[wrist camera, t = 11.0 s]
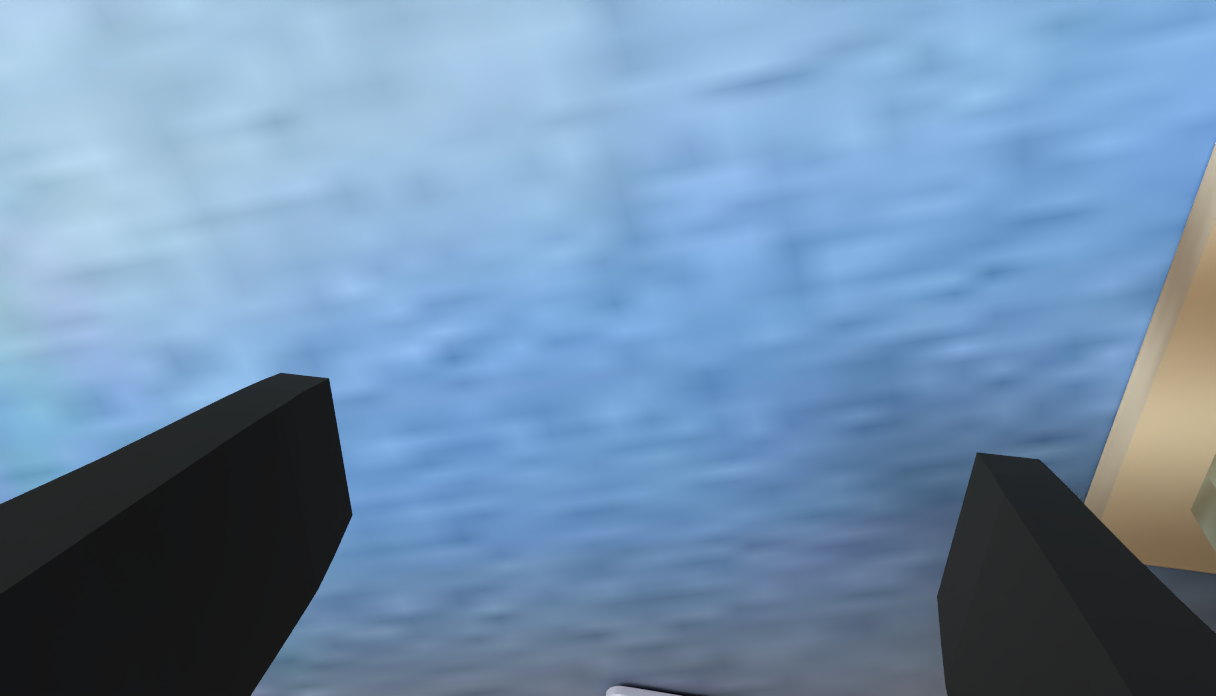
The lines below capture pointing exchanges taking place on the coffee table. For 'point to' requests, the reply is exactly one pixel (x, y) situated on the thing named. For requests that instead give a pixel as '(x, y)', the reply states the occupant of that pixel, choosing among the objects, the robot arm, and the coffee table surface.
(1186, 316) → the socket stand
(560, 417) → the coffee table surface
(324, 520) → the robot arm
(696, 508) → the coffee table surface
